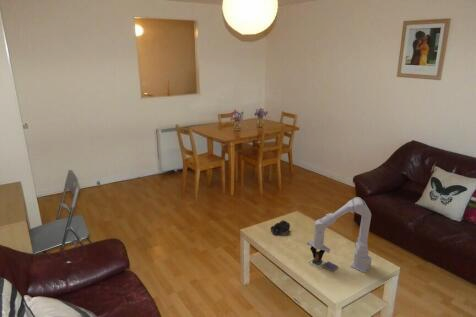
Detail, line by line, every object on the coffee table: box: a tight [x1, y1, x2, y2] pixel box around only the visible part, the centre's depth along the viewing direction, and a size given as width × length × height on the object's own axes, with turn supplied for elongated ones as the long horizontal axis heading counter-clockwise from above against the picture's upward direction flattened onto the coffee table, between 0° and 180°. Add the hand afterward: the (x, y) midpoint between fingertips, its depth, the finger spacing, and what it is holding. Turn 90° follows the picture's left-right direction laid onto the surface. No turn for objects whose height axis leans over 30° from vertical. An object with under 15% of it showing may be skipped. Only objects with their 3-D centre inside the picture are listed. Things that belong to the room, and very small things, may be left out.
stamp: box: [312, 250, 323, 266], centre depth 209 cm, size 4×4×7 cm
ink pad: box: [322, 260, 339, 273], centre depth 205 cm, size 7×6×1 cm
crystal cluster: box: [270, 219, 291, 237], centre depth 244 cm, size 13×14×10 cm
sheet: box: [306, 258, 328, 270], centre depth 210 cm, size 9×9×1 cm
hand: (317, 258), depth 209 cm, fingers closed on stamp, 3 cm apart
